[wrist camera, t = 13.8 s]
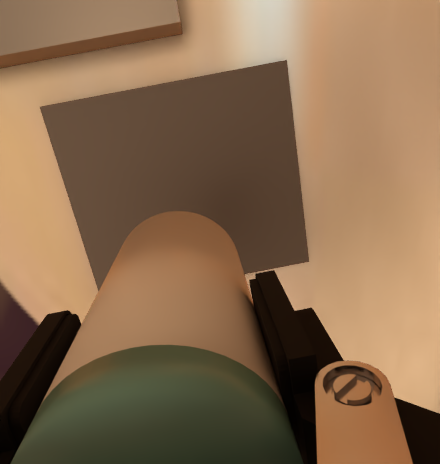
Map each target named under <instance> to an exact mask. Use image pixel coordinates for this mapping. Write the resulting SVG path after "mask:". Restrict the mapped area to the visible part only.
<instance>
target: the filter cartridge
mask: <svg viewBox="0 0 440 464" xmlns="http://www.w3.org/2000/svg"><path fill="white" fill-rule="evenodd" d="M11 464H303V461H302V458H301V454H300V451H299V448H298V445H297V442H296V438H295V435H294V432H293V429H292V426H291V422H290V419H289V416H288V413H287V410H286V408H285V405H284V403H283V400H282V396H281V393H280V390H279V387H278V383H277V380H276V377H275V374H274V371H273V367H272V364H271V361H270V358H269V354H268V351H267V348H266V345H265V341H264V338H263V335H262V332H261V328H260V325H259V322H258V319H257V315H256V312H255V309H254V305H253V301H252V297H251V294H250V291H249V288H248V284H247V281H246V278H245V275H244V272H243V268H242V265H241V262H240V259H239V256H238V252H237V250H236V247H235V245H234V243H233V241H232V239H231V238H230V236H229V235H228V234H227V232H226V231H225V230H224V229H223V228H222V227H221V226H219V225H218V224H217V223H215V222H214V221H212V220H211V219H209V218H207V217H205V216H202V215H200V214H196V213H192V212H186V211H171V212H165V213H161V214H157V215H155V216H152V217H150V218H148V219H146V220H145V221H143V222H142V223H140V224H139V225H138V226H136V227H135V228H134V229H133V230H132V231H131V233H130V234H129V235H128V236H127V238H126V240H125V241H124V243H123V245H122V247H121V249H120V251H119V253H118V255H117V257H116V259H115V261H114V262H113V264H112V266H111V268H110V270H109V272H108V274H107V276H106V278H105V280H104V282H103V284H102V286H101V288H100V290H99V292H98V294H97V296H96V298H95V300H94V302H93V304H92V305H91V307H90V309H89V311H88V313H87V315H86V317H85V319H84V321H83V323H82V325H81V327H80V329H79V331H78V333H77V335H76V337H75V339H74V341H73V343H72V345H71V347H70V348H69V350H68V352H67V354H66V356H65V358H64V360H63V362H62V364H61V366H60V368H59V370H58V372H57V374H56V376H55V378H54V380H53V382H52V384H51V386H50V388H49V390H48V391H47V393H46V395H45V397H44V399H43V401H42V403H41V405H40V407H39V409H38V411H37V413H36V415H35V417H34V419H33V421H32V423H31V425H30V427H29V429H28V431H27V433H26V434H25V436H24V438H23V440H22V442H21V444H20V446H19V448H18V450H17V452H16V454H15V456H14V458H13V460H12V462H11Z"/></svg>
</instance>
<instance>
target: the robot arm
mask: <svg viewBox="0 0 440 464" xmlns="http://www.w3.org/2000/svg"><path fill="white" fill-rule="evenodd" d="M250 288H251V294H252V299H253V305H254V309H255V312H256V315H257V319H258V322H259V325H260V328H261V332H262V335H263V338H264V341H265V345H266V348H267V351H268V354H269V358H270V361H271V364H272V367H273V371H274V374H275V377H276V380H277V383H278V387H279V390H280V393H281V396H282V400H283V403H284V405H285V408H286V410H287V413H288V416H289V419H290V422H291V426H292V429H293V432H294V435H295V438H296V442H297V445H298V448H299V451H300V454H301V458H302V461H303V464H440V414H439V413H436V412H433V411H430V410H428V409H425V408H422V407H419V406H417V405H414V404H411V403H408V402H406V401H403V400H400V399H397V398H394V395H393V392H392V388H391V385H390V383H389V381H388V379H387V377H386V376H385V375H384V374H383V373H382V372H381V371H380V370H379V369H377V368H375V367H373V366H371V365H369V364H366V363H363V362H359V361H349V360H347V361H344V360H343V359H342V357H341V355H340V354H339V352H338V350H337V349H336V347H335V345H334V343H333V342H332V340H331V338H330V337H329V335H328V333H327V332H326V330H325V328H324V327H323V325H322V323H321V322H320V320H319V318H318V317H317V315H316V313H315V312H314V310H313V309H312V308H307V309H302V310H297V311H294V309H293V307H292V305H291V303H290V301H289V299H288V297H287V295H286V293H285V291H284V289H283V287H282V285H281V283H280V281H279V279H278V277H277V275H276V273H275V271H274V270H273V271H268V272H263V273H257V274H256V279H252V280H250ZM80 327H81V323H80V320H79V317H78V316H77V315H76V314H71V312H70V311H68V310H67V311H62V312H57V313H52V314H48V315H47V316H46V317H45V318H44V320H43V321H42V322H41V324H40V325H39V327H38V328H37V330H36V331H35V332H34V334H33V335H32V337H31V338H30V339H29V341H28V342H27V344H26V345H25V347H24V348H23V349H22V351H21V352H20V354H19V355H18V357H17V358H16V359H15V361H14V362H13V364H12V365H11V367H10V368H9V369H8V371H7V372H6V374H5V375H4V377H3V378H2V379H1V381H0V464H11V462H12V460H13V458H14V456H15V454H16V452H17V450H18V448H19V446H20V444H21V442H22V440H23V438H24V436H25V434H26V433H27V431H28V429H29V427H30V425H31V423H32V421H33V419H34V417H35V415H36V413H37V411H38V409H39V407H40V405H41V403H42V401H43V399H44V397H45V395H46V393H47V391H48V390H49V388H50V386H51V384H52V382H53V380H54V378H55V376H56V374H57V372H58V370H59V368H60V366H61V364H62V362H63V360H64V358H65V356H66V354H67V352H68V350H69V348H70V347H71V345H72V343H73V341H74V339H75V337H76V335H77V333H78V331H79V329H80Z"/></svg>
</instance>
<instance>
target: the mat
mask: <svg viewBox="0 0 440 464" xmlns="http://www.w3.org/2000/svg"><path fill="white" fill-rule="evenodd" d="M40 109H41V112H42V116H43V119H44V122H45V125H46V128H47V131H48V134H49V137H50V141H51V144H52V147H53V150H54V153H55V156H56V159H57V162H58V166H59V169H60V172H61V175H62V178H63V181H64V184H65V188H66V191H67V194H68V197H69V200H70V203H71V206H72V209H73V213H74V216H75V219H76V222H77V225H78V228H79V231H80V234H81V238H82V241H83V244H84V247H85V250H86V253H87V256H88V259H89V263H90V266H91V269H92V272H93V275H94V278H95V281H96V285H97V288H98V291H99V290H100V288H101V286H102V284H103V282H104V280H105V278H106V276H107V274H108V272H109V270H110V268H111V266H112V264H113V262H114V261H115V259H116V257H117V255H118V253H119V251H120V249H121V247H122V245H123V243H124V241H125V240H126V238H127V236H128V235H129V234H130V233H131V231H132V230H133V229H134V228H135V227H136V226H138V225H139V224H140V223H142V222H143V221H145V220H146V219H148V218H150V217H152V216H155V215H157V214H161V213H165V212H171V211H186V212H192V213H196V214H200V215H202V216H205V217H207V218H209V219H211V220H212V221H214V222H215V223H217V224H218V225H219V226H221V227H222V228H223V229H224V230H225V231H226V232H227V234H228V235H229V236H230V238H231V239H232V241H233V243H234V245H235V247H236V250H237V252H238V256H239V259H240V262H241V265H242V268H243V272H244V274H247V273H252V272H258V271H263V270H268V269H273V268H278V267H283V266H289V265H294V264H299V263H304V262H309V257H308V248H307V239H306V230H305V221H304V212H303V203H302V194H301V185H300V176H299V167H298V158H297V149H296V140H295V131H294V122H293V113H292V104H291V95H290V86H289V77H288V68H287V60H285V61H279V62H274V63H269V64H264V65H258V66H253V67H248V68H243V69H237V70H232V71H227V72H221V73H216V74H211V75H206V76H200V77H195V78H190V79H184V80H179V81H174V82H169V83H163V84H158V85H153V86H148V87H142V88H137V89H132V90H126V91H121V92H116V93H111V94H105V95H100V96H95V97H89V98H84V99H79V100H74V101H68V102H63V103H58V104H53V105H47V106H42V107H40Z"/></svg>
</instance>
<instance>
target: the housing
mask: <svg viewBox="0 0 440 464" xmlns="http://www.w3.org/2000/svg"><path fill="white" fill-rule="evenodd" d="M179 34H182V28H181V21H180V16H179V11H178V5H177V0H0V68H4V67H9V66H14V65H20V64H25V63H30V62H35V61H41V60H46V59H51V58H57V57H62V56H67V55H73V54H78V53H83V52H89V51H94V50H99V49H104V48H110V47H115V46H120V45H126V44H131V43H136V42H142V41H147V40H152V39H157V38H163V37H168V36H173V35H179Z"/></svg>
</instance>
